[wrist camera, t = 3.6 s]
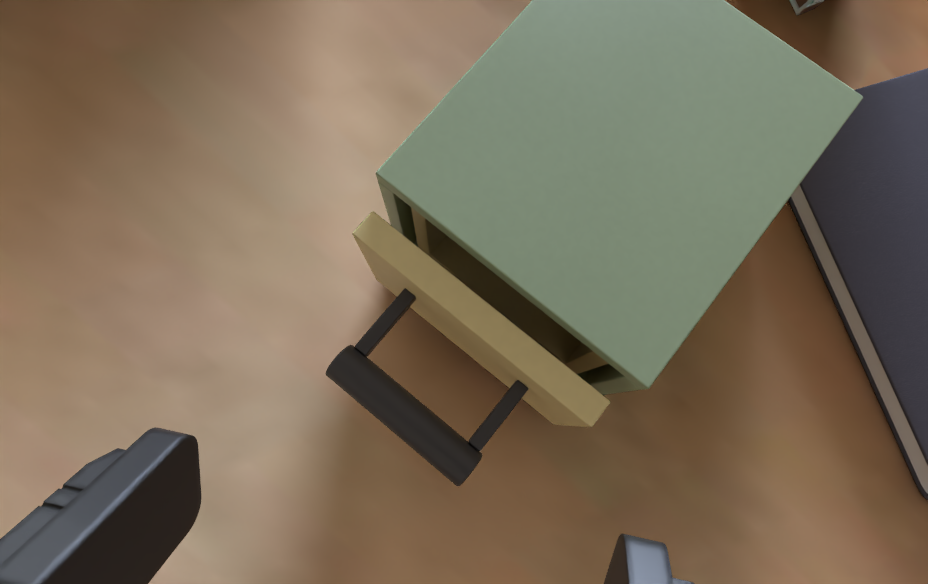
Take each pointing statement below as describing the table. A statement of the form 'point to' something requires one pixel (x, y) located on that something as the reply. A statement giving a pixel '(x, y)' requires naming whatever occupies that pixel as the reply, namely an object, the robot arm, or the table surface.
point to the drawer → (463, 344)
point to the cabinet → (619, 164)
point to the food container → (805, 5)
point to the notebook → (879, 248)
